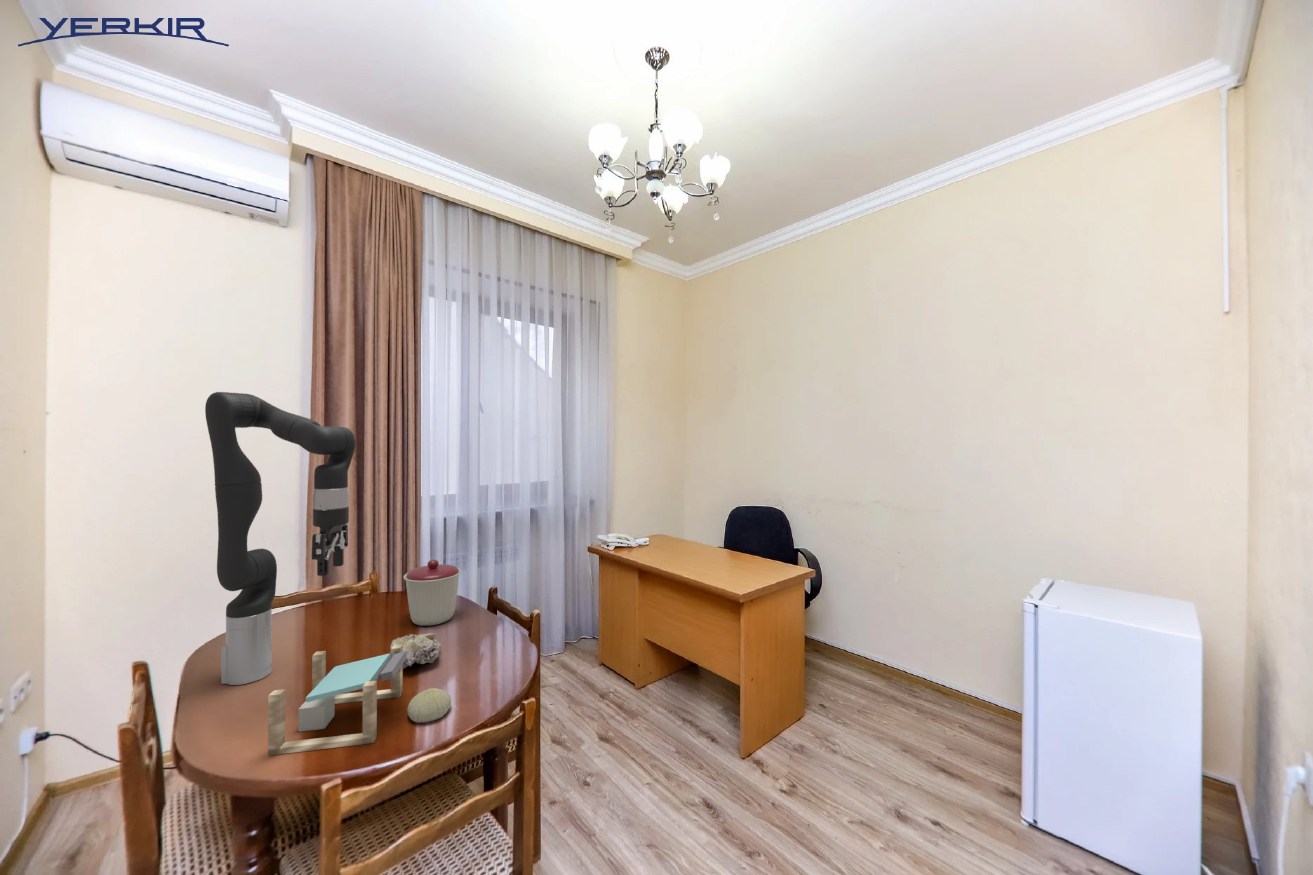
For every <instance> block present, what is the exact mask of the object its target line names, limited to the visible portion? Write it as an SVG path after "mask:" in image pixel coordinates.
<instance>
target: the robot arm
mask: <svg viewBox="0 0 1313 875" xmlns="http://www.w3.org/2000/svg"><path fill="white" fill-rule="evenodd" d="M204 408H205V410H204V413H205V420H206V426H207V431H208V436H209V440H210V447H211V452H212V460H213V461H212V462H213V468H214V471H213V473H214V474H213V475H214V491H215V501H216V502H215V503H216V509H217V510H216V511H217V512H216V513H217V528H218V529H217V533H218V536H217V537H218V539H217V540H218V541H217V555H216V557H217V558H216V574H217V575H216V576H217V579H218V582H219V584H220V585H221V587H222V588H223V589H224V590H226V591H228V592H237V591H240V590H241V591H240V593H238V595H237V596H235V598H233V600H231V601H230V602H229V603H228V604H227V605H226V607H225V644H224V645H223V646H221V648H220V649H221V651H220V652H221V653H220V654H221V655H220V656H221V659H220V660H221V662H220V663H221V669H220V670H221V672H220V673H221V676H220V677H221V678H220V680H221V681H220V683H221V685H224V684H226V685H230V686H241V685H246V684H251V683H254V682H257V681H260V680H261V679H264V678H266V677H267V676H269V675H271V673H272V635H273V634H272V627H273V626H272V622H273V620H272V616H273V614H272V611H273V610H272V609H273V608H272V607H273V606H272V604H273V601H274V599H275V596H276V591H277V590H276V588H277V576H278V575H277V573H278V565H277V560H276V557H275V555H274V554H273V552H272V551H270V550H269V549H265V548H256V549H251V550H248V537H249V536H248V535H249V531H250V529H251V527H252V524H253V521H254V520H255V518H256V516H257V514H258V512H259V510H260V508H261V506H262V504H263V503H262V502H263V487H262V486H263V485H262V477H261V474H260V472H259V470H258V469H257V467H256V466H255V465H254V463H252V461H251V460H250V458H249V457H247V455H246V454H245V453H244V451H243V450H242V448H241V447H240V444H239V442H238V437H237V431H236V429H239V428H240V429H241V428H243V429H245V428H246V429H247V428H263V429H268V430H270V431H271V433H272V434H273V435H274V436H275V437H277V438H279V439H281V440H283V441H286V442H289V443H292V444H295V445H298V446H300V447H301V448H303V449H304V450H305V451H307V452H308V453H311V454H315V455H320V456H325V455H326V456H327V455H329V456H328V459H327V462H324V463H323V464H319V465H318V466H316V467H315V469H314V474H313V482H314V483H313V488H314V489H313V496H312V525H313V526H314V527H315V528H319V533H313V534H312V539H311V542H312V544H311V560H313V561H314V560H315V561H317V562H316V565H317V566H316V572H317V573H316V575H317V576H318V577H323V576H325V577H326V576H328V575H329V573H330V570H329V569H330V563H329V562H330V559H329V558H330V555H331V553H332V566H333V567H342V566H344V564H345V563H344V558H345V556H344V552H345V551H346V547H347V548H348V546H349V533H348V530H349V526H348V523H349V522H350V519H349V518H350V494H349V483H348V482H349V469H350V466H351V463H352V459H353V456H354V452H355V450H356V444H357V441H356V437H355V435H354V434H355V433H353V431H352V430H351V429H350V428H348V427H344V426H325V425H322V426H321V424H319V423H318V421H315V420H313V419H311V418H308V417H304V416H302V415H300V414H299V415H298V414H295V413H292V412H288V411H286V410H283V409H281V408H278V407H276V406H274V405H273V404H271V403H270V402H268V401H266V400H264V399H262V398H260V397H259V396H256V395H254V394H251V393H242V392H241V393H239V392H230V391H229V392H226V391H216V392H213V393H211V394H210V395H209V396H208V397H207V399H206V401H205V406H204Z"/></svg>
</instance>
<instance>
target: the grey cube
mask: <svg viewBox="0 0 1313 875" xmlns="http://www.w3.org/2000/svg"><path fill="white" fill-rule="evenodd" d="M335 706H336V705H335V695H334V696H330V697H326V698H322V699H318V700H315V701H311V702H307V703H306V700H305V701H304V703H302V704H301V706H299V708H298V711H297V712H298V713H297V714H298V715H297V716H298V723H297V725H298V726H297V727H298V728H297V729H298V730H297V731H298V732H307V731H316V730H323V729H324V730H325V729H326V728H327V726H328V725H329V724H330V722H331V721H332V720H333V718H334V717H335Z"/></svg>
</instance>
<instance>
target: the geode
mask: <svg viewBox="0 0 1313 875" xmlns="http://www.w3.org/2000/svg"><path fill="white" fill-rule="evenodd" d="M436 635H437V634H436V633H421V634H409V635H407V634H406V635H405V636H401V637H399V636H398V637H397V638H396V639H392V640H391V644H390V647H389V653H390V654H391V648H392V647H393V646H394V645H403V652H405V651H406V657H407V658H406V660H405V661H404V663H403V670H404V669H406V668H407V667H408V666H409V667H411V666H412V665H413V664H415V663H416V664H420V665H424V664H426V663H427V664H433V663H434V662H435V661H436V659H437V658H438V657H440V653H441V652H440V651H441V649H442V647H441V646H442V644H441V643H440V642H439V641H438V640H437V639H435V638H436Z"/></svg>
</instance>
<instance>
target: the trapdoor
mask: <svg viewBox="0 0 1313 875" xmlns="http://www.w3.org/2000/svg"><path fill="white" fill-rule="evenodd" d="M390 657H391V653H390V652H389V653H386V654H382V655H377V656H373V657H369V658H365V659H361V660H356V661H352V662H347V663H344V664H340V665H336V666H334V667H333V668H332V669H331V670H330V671H329V672H328V673H327V674H326V677H325V678H324V679H323V680H322V681H321V682H320V683H319V684H318V685H317V686H316V687H315V688H314V689H313V690H312V689H311V692H309V693H308V694H307V696H306V697H305V701H306V703H307V702H311V701H315V700H318V699H322V698H326V697H330V696H334V695H338V694H347V693H351V692H354V691H357V690H363V685H364V684H365V683H366V682H367V681H373V680H374V679H375V677H376V676H377V675H378V673H379V672H380V670H381V669H382V668H383V666H384V665H385V664H386V662H387V661H388V660H389V658H390ZM406 658H407V657H406V651H405V652H401V653H397V654H394V656H393V657H392V658H391V660H390V661H389V663H388V664H387V665H386V667H385V668H384V669H383V671H382V672H381V674H380V681H381V682H384V681H387V680H391V679H393V678H394V676H395V675H396V673H397V672H398V670H399V669H400V667H401V666H402V664H403V663H404V661H405V660H406Z"/></svg>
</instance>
